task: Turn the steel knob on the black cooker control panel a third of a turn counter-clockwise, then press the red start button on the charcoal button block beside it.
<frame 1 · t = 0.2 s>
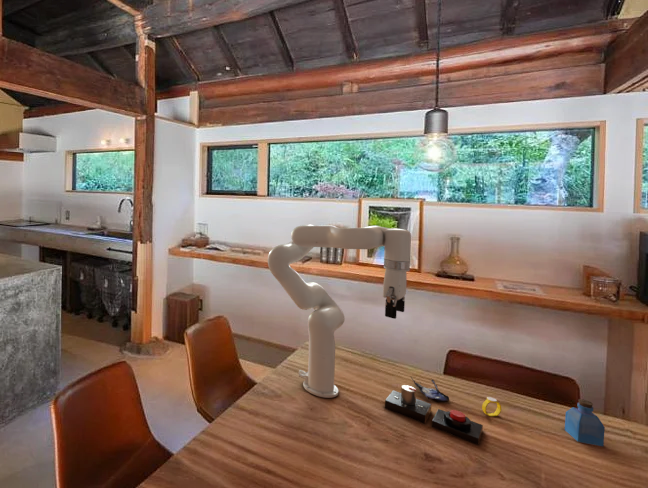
hand: (394, 314, 134), 36 cm above the table, tool pointing down, fingers open, 9 cm apart
button block: (456, 429, 130), on the table
control panel: (407, 410, 140), on the table
start button: (457, 416, 130), point 4 cm above the table, slide at 0.1 cm
heat knob: (408, 394, 140), point 6 cm above the table, hinge at 0.0°
snack package: (429, 395, 150), on the table
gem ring: (491, 416, 138), on the table
perfume bottle: (583, 438, 127), on the table
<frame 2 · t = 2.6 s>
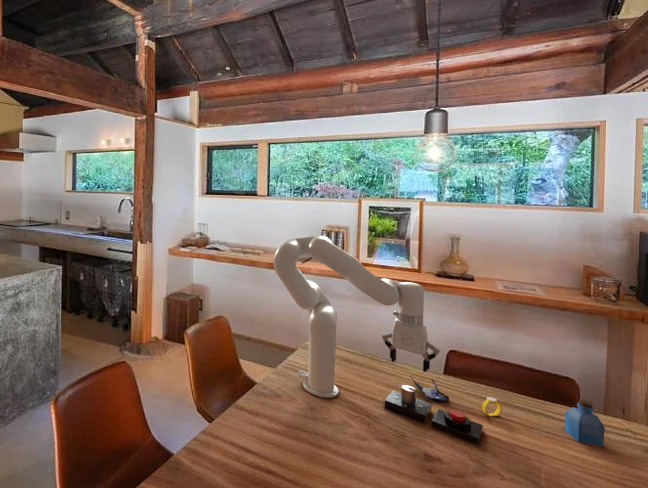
hand: (409, 365, 139), 17 cm above the table, tool pointing down, fingers open, 9 cm apart
nothing on the table moved.
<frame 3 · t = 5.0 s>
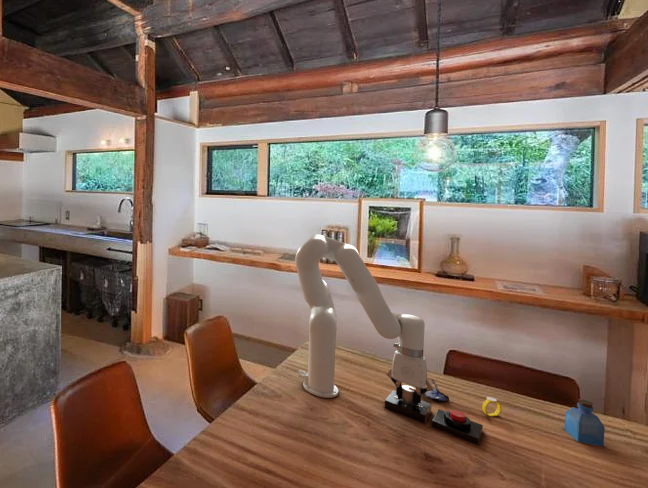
hand: (408, 400, 140), 4 cm above the table, tool pointing down, fingers closed on heat knob, 4 cm apart
heat knob: (408, 394, 140), point 6 cm above the table, hinge at -0.2°, touching gripper
everything else where it was.
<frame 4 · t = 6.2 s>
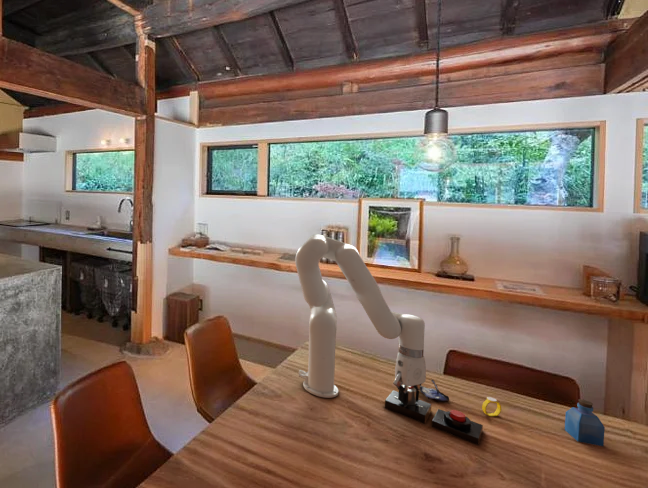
hand: (408, 400, 140), 4 cm above the table, tool pointing down, fingers closed on heat knob, 4 cm apart
heat knob: (408, 394, 140), point 6 cm above the table, hinge at 66.4°, touching gripper
everything else where it was.
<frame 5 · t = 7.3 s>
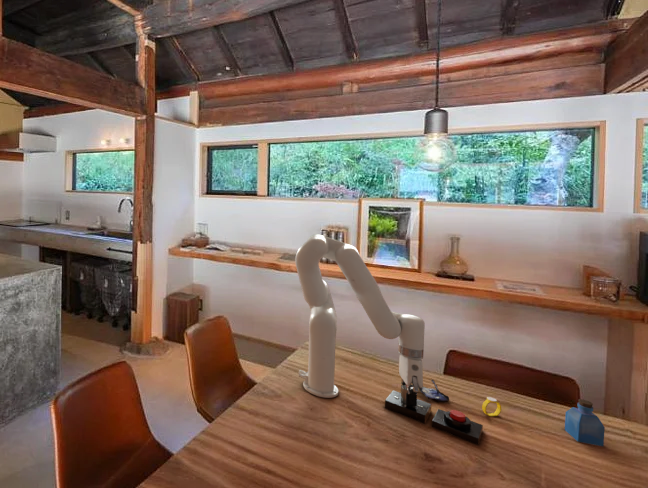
hand: (408, 400, 140), 4 cm above the table, tool pointing down, fingers closed on heat knob, 4 cm apart
heat knob: (408, 394, 140), point 6 cm above the table, hinge at 120.5°, touching gripper
everything else where it was.
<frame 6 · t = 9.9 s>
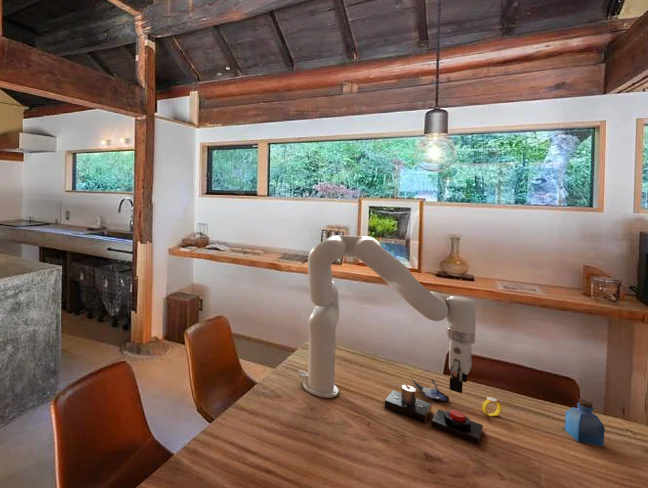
hand: (458, 385, 129), 15 cm above the table, tool pointing down, fingers open, 9 cm apart
heat knob: (408, 394, 140), point 6 cm above the table, hinge at 120.2°
everything else where it was.
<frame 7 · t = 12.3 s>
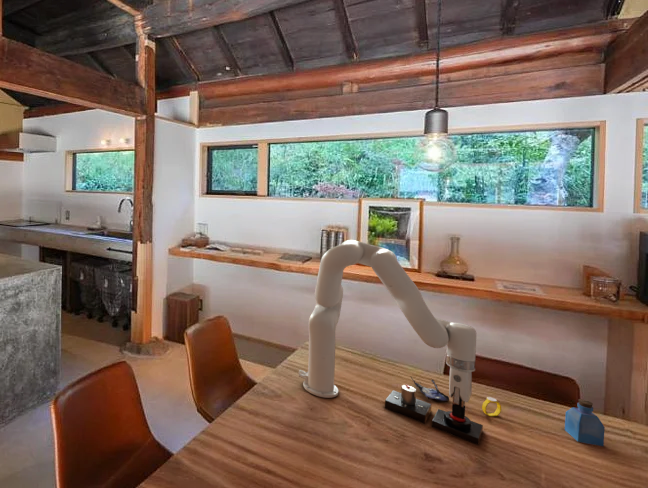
hand: (458, 416, 129), 5 cm above the table, tool pointing down, fingers closed
start button: (457, 418, 130), point 4 cm above the table, slide at -0.8 cm, touching gripper
everything else where it was.
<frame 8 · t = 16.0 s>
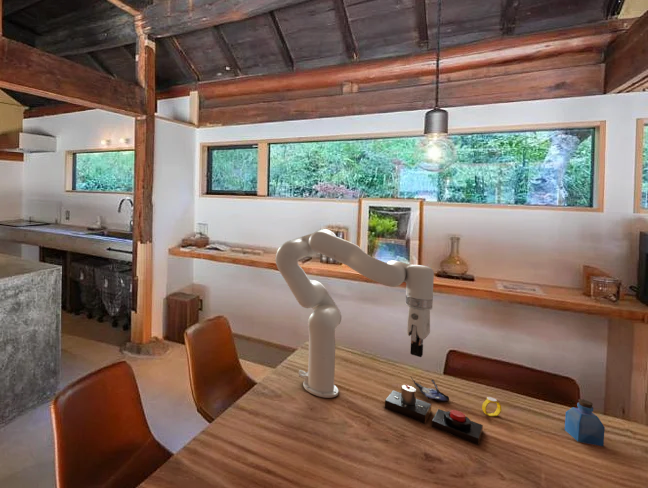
hand: (416, 355, 133), 23 cm above the table, tool pointing down, fingers closed
start button: (457, 416, 130), point 4 cm above the table, slide at 0.1 cm
everything else where it was.
at the end: heat knob at +120° (first picture: +0°); start button pushed in 1.1 cm at the most during the clip and back out by the end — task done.
